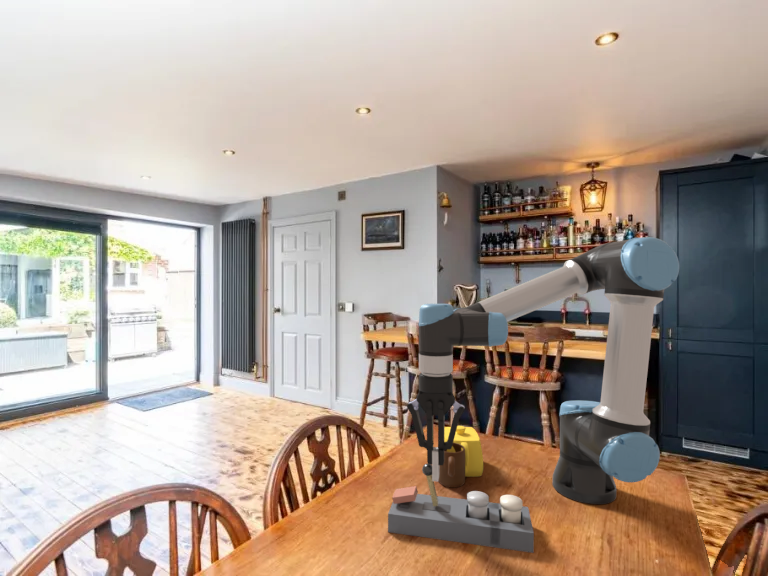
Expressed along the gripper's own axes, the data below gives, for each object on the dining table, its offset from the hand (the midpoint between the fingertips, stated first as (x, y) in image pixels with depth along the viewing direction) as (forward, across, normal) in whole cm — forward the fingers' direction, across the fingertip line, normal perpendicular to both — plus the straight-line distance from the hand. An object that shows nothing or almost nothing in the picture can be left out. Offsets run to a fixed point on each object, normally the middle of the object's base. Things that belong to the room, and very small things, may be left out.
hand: (435, 478), depth 92 cm
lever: (+7, 0, 0) cm, 7 cm away
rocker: (+5, +7, 0) cm, 9 cm away
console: (+11, -5, 0) cm, 12 cm away
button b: (+8, -9, 0) cm, 12 cm away
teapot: (+11, -4, -32) cm, 34 cm away
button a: (+8, -16, 0) cm, 18 cm away
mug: (+11, -2, -20) cm, 22 cm away
